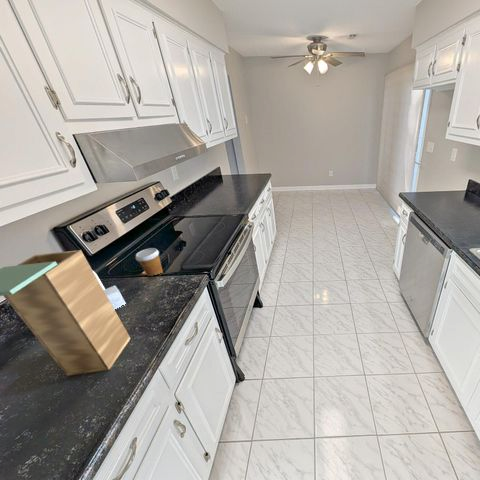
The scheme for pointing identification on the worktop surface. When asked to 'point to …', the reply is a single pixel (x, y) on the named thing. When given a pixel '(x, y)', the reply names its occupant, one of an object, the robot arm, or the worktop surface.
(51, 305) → the tall bin
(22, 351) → the worktop surface
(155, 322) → the worktop surface
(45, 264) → the sliding top
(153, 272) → the disposable coffee cup
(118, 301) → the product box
